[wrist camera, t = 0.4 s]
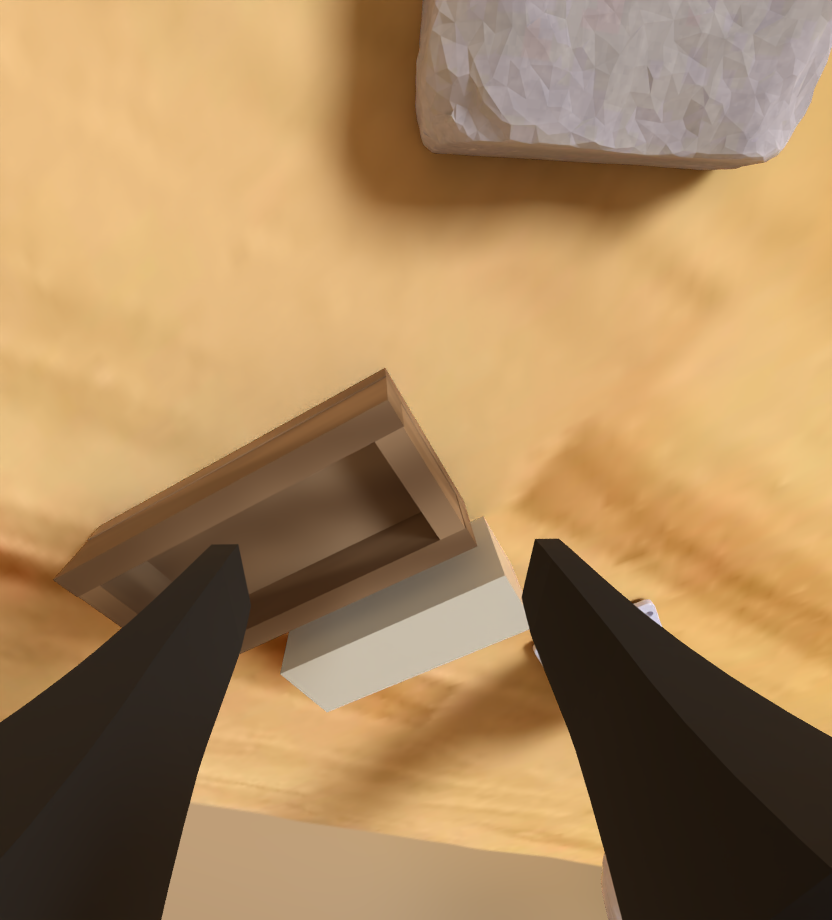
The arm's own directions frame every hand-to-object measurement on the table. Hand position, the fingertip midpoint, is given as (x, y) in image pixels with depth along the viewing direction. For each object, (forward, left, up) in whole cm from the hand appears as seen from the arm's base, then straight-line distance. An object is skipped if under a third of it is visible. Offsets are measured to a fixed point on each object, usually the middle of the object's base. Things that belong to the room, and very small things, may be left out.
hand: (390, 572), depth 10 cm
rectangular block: (-10, +4, -10) cm, 15 cm away
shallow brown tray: (-2, +7, -10) cm, 12 cm away
